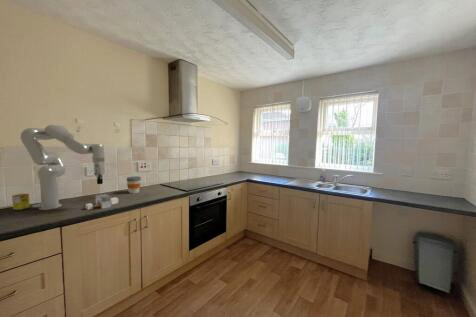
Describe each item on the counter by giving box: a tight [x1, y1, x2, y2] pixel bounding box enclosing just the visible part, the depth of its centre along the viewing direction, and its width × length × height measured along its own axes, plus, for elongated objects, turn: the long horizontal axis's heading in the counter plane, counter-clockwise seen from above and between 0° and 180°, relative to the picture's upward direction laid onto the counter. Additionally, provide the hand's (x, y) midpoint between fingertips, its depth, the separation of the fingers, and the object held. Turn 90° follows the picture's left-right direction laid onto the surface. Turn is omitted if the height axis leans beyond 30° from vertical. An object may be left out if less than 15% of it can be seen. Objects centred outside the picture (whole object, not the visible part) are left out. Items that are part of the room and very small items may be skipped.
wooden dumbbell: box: [85, 197, 120, 211], centre depth 155 cm, size 22×4×4 cm, turn 147°
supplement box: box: [11, 193, 30, 211], centre depth 143 cm, size 6×6×11 cm
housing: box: [95, 193, 112, 209], centre depth 154 cm, size 6×14×8 cm, turn 52°
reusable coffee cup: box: [126, 176, 142, 194], centre depth 197 cm, size 13×13×15 cm
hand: (100, 183), depth 151 cm, fingers closed
